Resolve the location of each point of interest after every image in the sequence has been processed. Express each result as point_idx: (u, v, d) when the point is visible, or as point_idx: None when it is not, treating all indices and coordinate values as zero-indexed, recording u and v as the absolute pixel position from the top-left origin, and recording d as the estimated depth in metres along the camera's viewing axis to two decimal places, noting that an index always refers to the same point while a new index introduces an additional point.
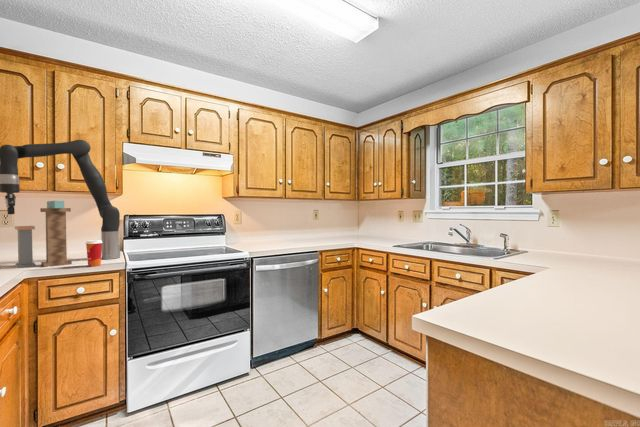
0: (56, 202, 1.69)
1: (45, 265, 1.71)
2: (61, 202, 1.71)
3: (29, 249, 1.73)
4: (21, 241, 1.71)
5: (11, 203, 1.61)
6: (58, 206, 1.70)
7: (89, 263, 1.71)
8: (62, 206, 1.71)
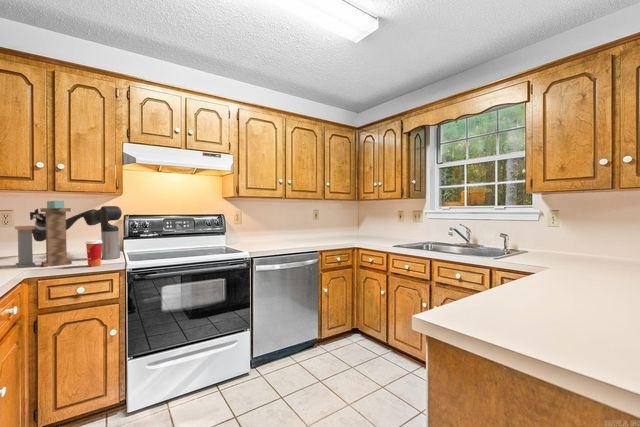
0: (56, 202, 1.69)
1: (45, 265, 1.71)
2: (61, 202, 1.71)
3: (29, 249, 1.73)
4: (21, 241, 1.71)
5: None
6: (58, 206, 1.70)
7: (89, 263, 1.71)
8: (62, 206, 1.71)
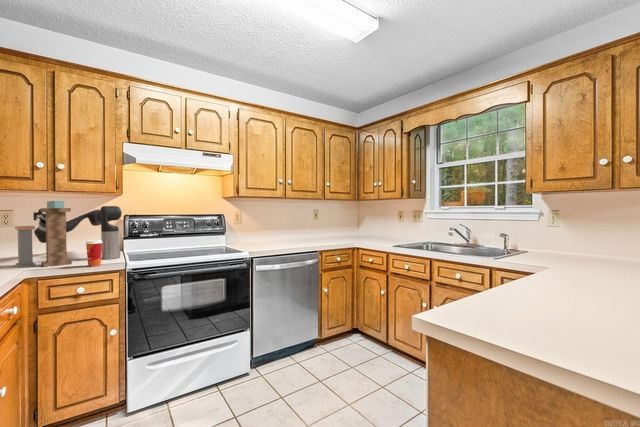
0: (56, 202, 1.69)
1: (45, 265, 1.71)
2: (61, 202, 1.71)
3: (29, 249, 1.73)
4: (21, 241, 1.71)
5: (34, 214, 1.85)
6: (58, 206, 1.70)
7: (89, 263, 1.71)
8: (62, 206, 1.71)
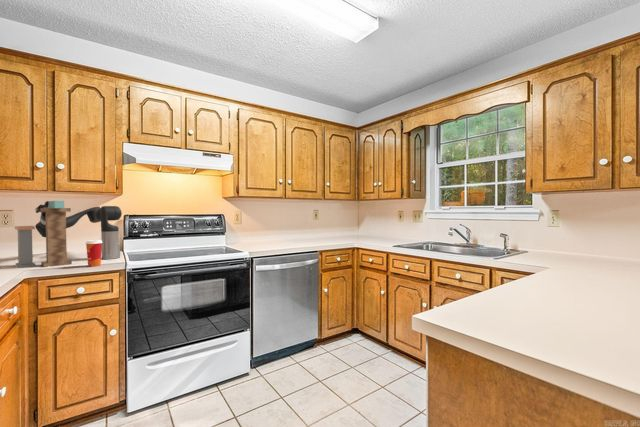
0: (56, 202, 1.69)
1: (45, 265, 1.71)
2: (61, 202, 1.71)
3: (29, 249, 1.73)
4: (21, 241, 1.71)
5: (40, 207, 1.82)
6: (58, 206, 1.70)
7: (89, 263, 1.71)
8: (62, 206, 1.71)
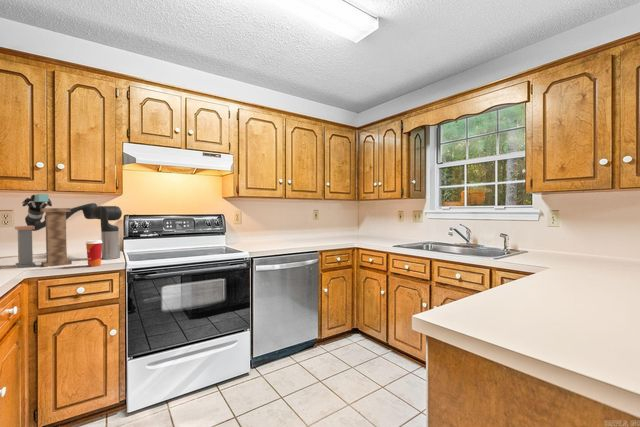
0: (40, 195, 1.72)
1: (45, 265, 1.71)
2: (45, 195, 1.74)
3: (29, 249, 1.73)
4: (21, 241, 1.71)
5: (26, 200, 1.85)
6: (42, 199, 1.73)
7: (89, 263, 1.71)
8: (46, 199, 1.74)
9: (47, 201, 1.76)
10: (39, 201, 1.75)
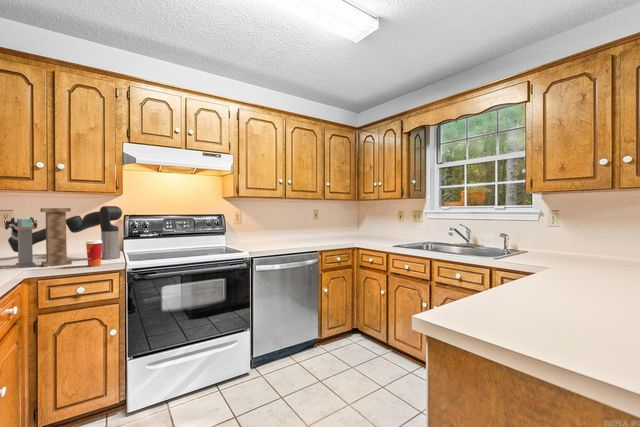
0: (23, 221, 1.67)
1: (45, 265, 1.71)
2: (29, 221, 1.68)
3: (29, 249, 1.73)
4: (21, 241, 1.71)
5: (6, 223, 1.79)
6: (25, 225, 1.67)
7: (89, 263, 1.71)
8: (30, 225, 1.69)
9: (31, 226, 1.70)
10: None
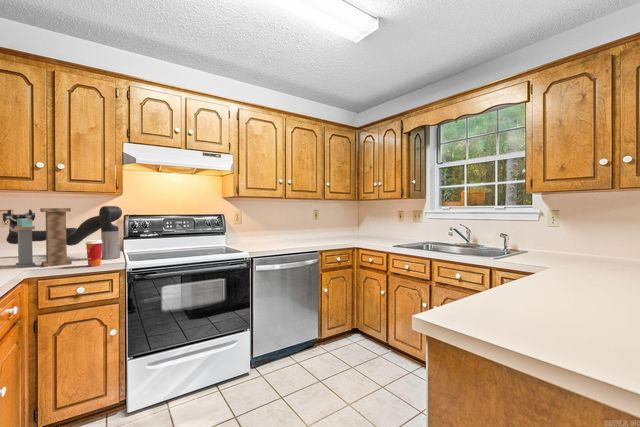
0: (23, 221, 1.67)
1: (45, 265, 1.71)
2: (29, 221, 1.68)
3: (29, 249, 1.73)
4: (21, 241, 1.71)
5: (3, 215, 1.85)
6: (25, 225, 1.67)
7: (89, 263, 1.71)
8: (30, 225, 1.69)
9: (31, 226, 1.70)
10: None
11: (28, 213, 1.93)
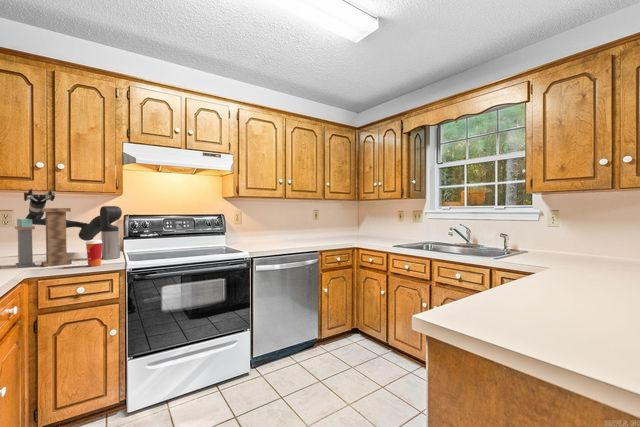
0: (23, 221, 1.67)
1: (45, 265, 1.71)
2: (29, 221, 1.68)
3: (29, 249, 1.73)
4: (21, 241, 1.71)
5: (24, 194, 1.90)
6: (25, 225, 1.67)
7: (89, 263, 1.71)
8: (30, 225, 1.69)
9: (31, 226, 1.70)
10: None
11: (48, 193, 1.98)
